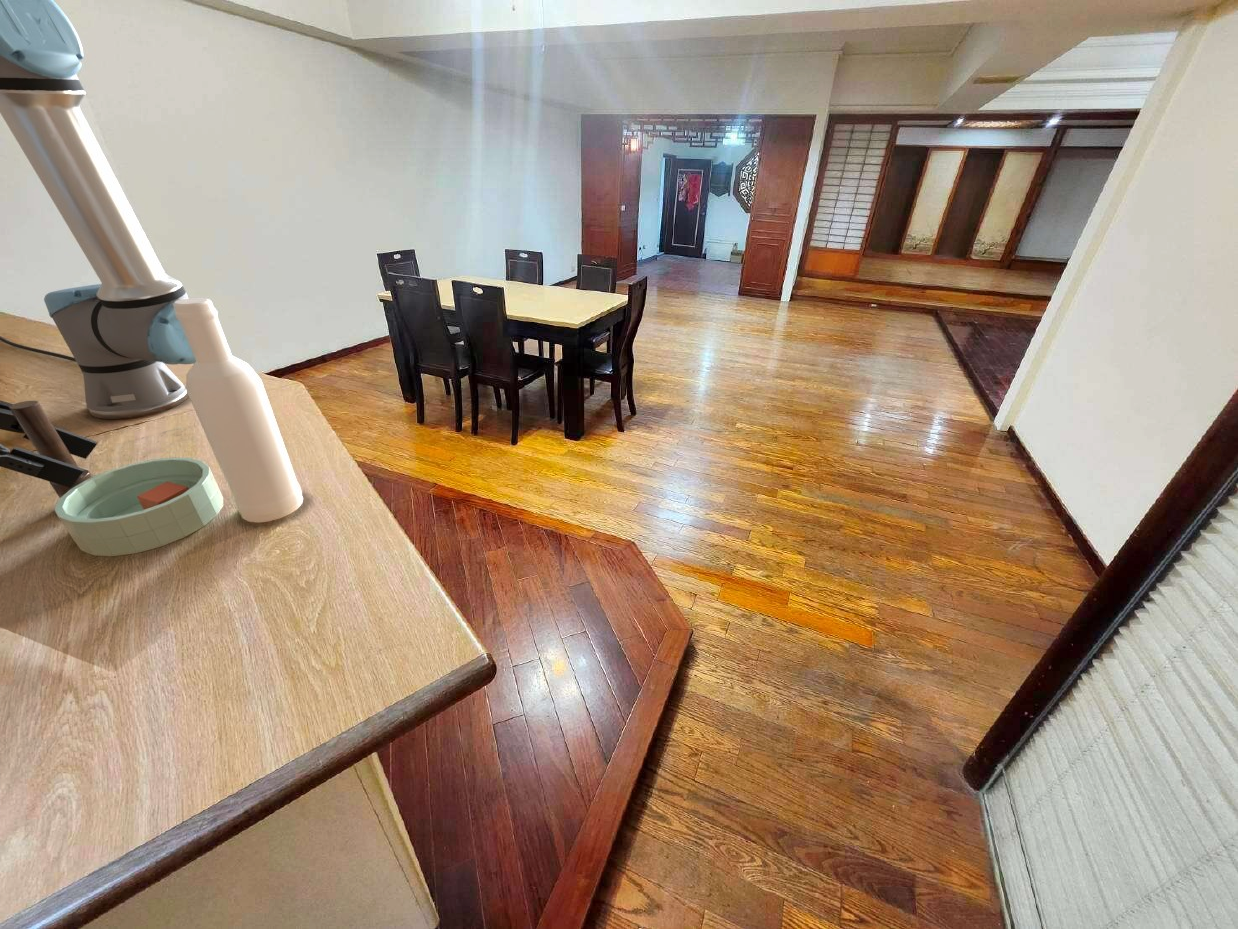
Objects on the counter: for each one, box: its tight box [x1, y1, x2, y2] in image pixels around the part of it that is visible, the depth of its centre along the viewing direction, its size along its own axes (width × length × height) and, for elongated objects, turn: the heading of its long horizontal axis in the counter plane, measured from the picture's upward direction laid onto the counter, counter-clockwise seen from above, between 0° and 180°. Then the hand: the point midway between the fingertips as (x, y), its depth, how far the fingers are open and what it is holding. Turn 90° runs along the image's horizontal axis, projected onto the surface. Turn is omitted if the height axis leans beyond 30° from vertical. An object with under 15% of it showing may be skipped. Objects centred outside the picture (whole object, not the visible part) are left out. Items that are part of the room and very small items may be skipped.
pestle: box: [9, 400, 93, 499], centre depth 68 cm, size 4×4×16 cm
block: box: [137, 482, 189, 510], centre depth 69 cm, size 4×4×4 cm
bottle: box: [173, 297, 304, 523], centre depth 65 cm, size 8×8×30 cm
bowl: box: [53, 456, 224, 557], centre depth 68 cm, size 16×16×6 cm
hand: (85, 463), depth 68 cm, fingers open, 9 cm apart
